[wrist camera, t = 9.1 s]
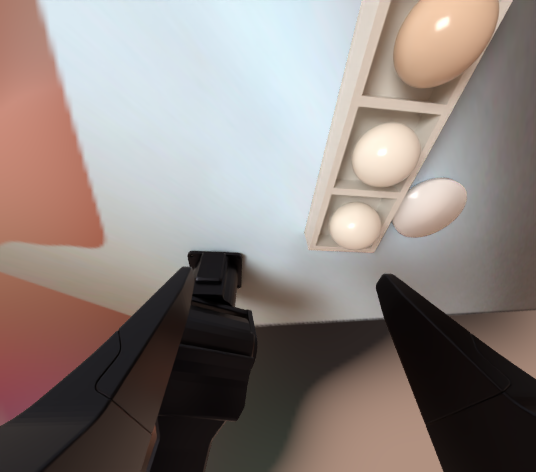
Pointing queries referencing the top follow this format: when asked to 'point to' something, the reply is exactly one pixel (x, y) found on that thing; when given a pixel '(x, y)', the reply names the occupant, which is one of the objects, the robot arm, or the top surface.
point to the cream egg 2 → (386, 154)
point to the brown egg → (442, 39)
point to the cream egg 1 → (355, 225)
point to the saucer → (429, 207)
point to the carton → (376, 119)
